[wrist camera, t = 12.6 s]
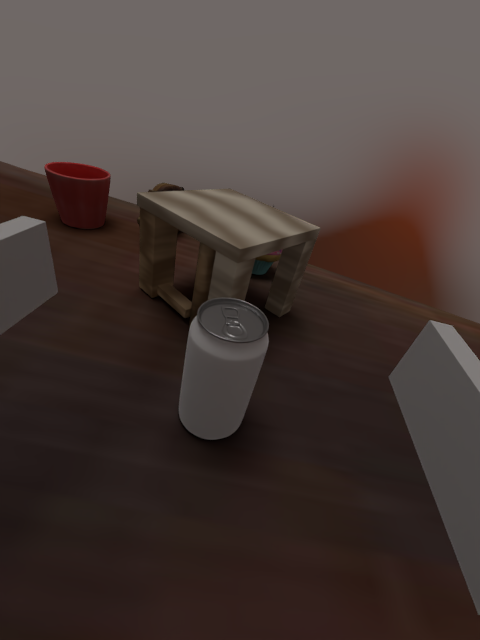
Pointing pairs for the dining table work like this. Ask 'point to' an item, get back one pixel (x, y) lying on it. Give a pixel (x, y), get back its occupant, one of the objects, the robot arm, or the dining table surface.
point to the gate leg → (170, 266)
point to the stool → (239, 239)
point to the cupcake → (265, 262)
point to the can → (221, 366)
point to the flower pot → (79, 193)
